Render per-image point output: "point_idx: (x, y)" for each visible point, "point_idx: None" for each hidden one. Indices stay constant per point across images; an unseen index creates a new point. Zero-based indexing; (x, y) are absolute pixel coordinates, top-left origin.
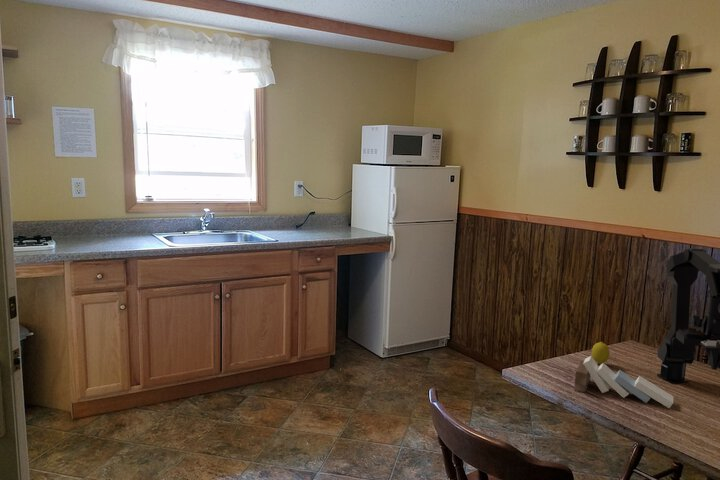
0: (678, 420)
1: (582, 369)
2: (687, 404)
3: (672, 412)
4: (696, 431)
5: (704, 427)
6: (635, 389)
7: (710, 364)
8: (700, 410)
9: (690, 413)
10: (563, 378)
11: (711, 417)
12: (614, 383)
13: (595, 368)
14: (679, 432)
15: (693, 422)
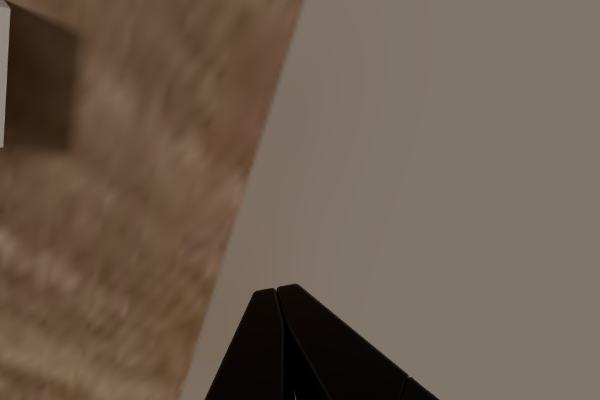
0: (45, 273)
1: None
2: (134, 8)
3: (17, 182)
4: (122, 351)
5: (171, 298)
6: None
7: (242, 326)
8: (202, 86)
9: (129, 156)
10: None
11: (241, 167)
12: None
13: None
14: (39, 390)
15: (125, 266)
